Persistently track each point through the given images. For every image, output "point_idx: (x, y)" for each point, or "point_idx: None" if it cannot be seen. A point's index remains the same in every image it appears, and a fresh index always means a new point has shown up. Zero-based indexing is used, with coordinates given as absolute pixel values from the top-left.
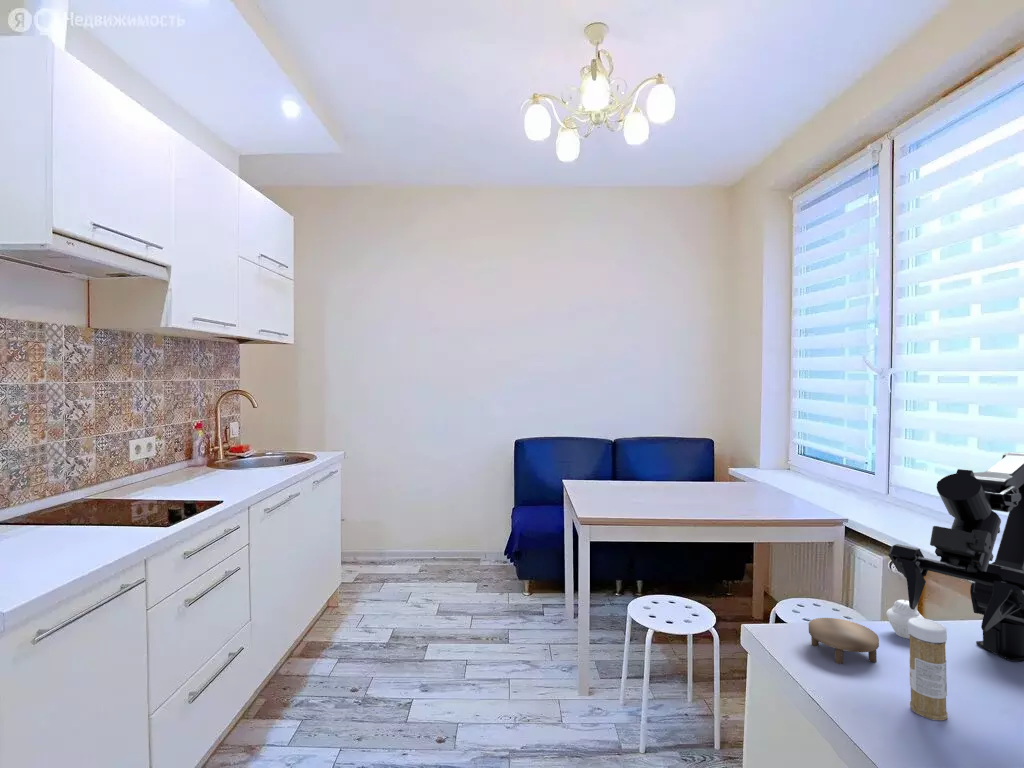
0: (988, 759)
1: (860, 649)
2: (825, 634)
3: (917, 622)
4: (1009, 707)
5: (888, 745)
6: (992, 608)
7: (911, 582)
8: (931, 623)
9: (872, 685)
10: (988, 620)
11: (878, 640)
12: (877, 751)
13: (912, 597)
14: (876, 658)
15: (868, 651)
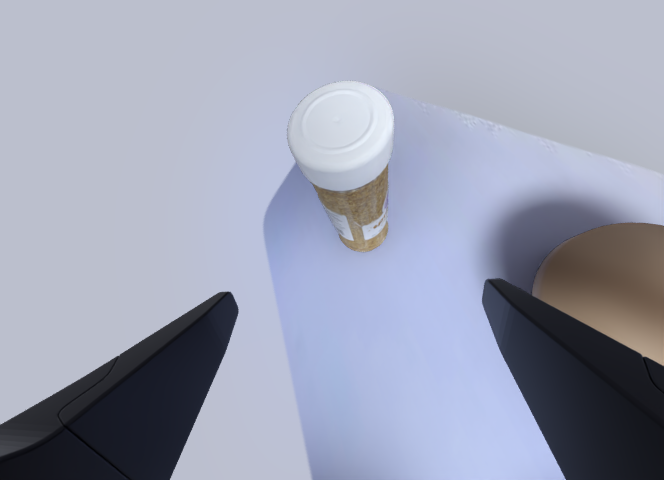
0: (278, 189)
1: (543, 267)
2: (648, 243)
3: (358, 101)
4: (298, 372)
5: None
6: (134, 351)
7: (650, 381)
8: (328, 133)
9: (458, 230)
10: (191, 310)
11: None
12: None
13: (521, 304)
14: None
15: (533, 289)
